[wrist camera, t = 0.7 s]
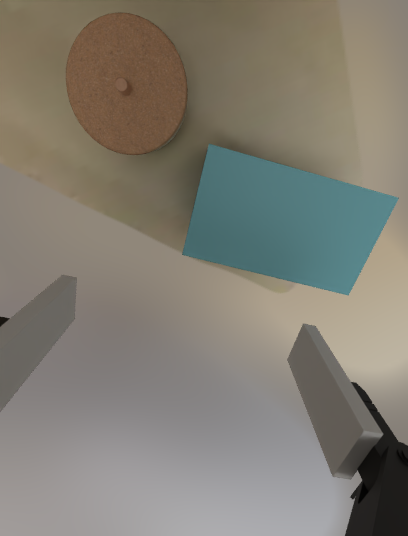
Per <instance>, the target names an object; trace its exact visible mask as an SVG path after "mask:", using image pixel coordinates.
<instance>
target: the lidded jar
mask: <svg viewBox="0 0 408 536" xmlns="http://www.w3.org/2000/svg"><path fill="white" fill-rule="evenodd" d="M66 85H67V92H68V96H69V100H70V104H71V106H72V109H73V111H74V113H75V115H76V117H77V119H78V121H79V123H80V124H81V125H82V127H83V128H84V129H85V131H86V132H87V133H88V134H89V135H90V136H91V137H92V138H93V139H94V140H96V141H97V142H98V143H99V144H101V145H102V146H104V147H106V148H108V149H110V150H112V151H115V152H118V153H122V154H127V155H139V154H146V153H149V152H152V151H156V150H158V149H160V148H162V147H163V146H165V145H166V144H167V143H169V142H170V141H171V140H172V138H173V137H174V136H175V135H176V133H177V132H178V131H179V129H180V127H181V125H182V123H183V120H184V117H185V113H186V107H187V80H186V75H185V71H184V67H183V64H182V61H181V59H180V56H179V54H178V52H177V50H176V49H175V47H174V45H173V43H172V42H171V41H170V40H169V38H168V37H167V36H166V34H164V33H163V32H162V31H161V30H160V29H159V28H158V27H157V26H156V25H154V24H153V23H151V22H150V21H148V20H146V19H144V18H142V17H140V16H137V15H133V14H129V13H112V14H107V15H104V16H101V17H99V18H97V19H95V20H94V21H92V22H90V23H89V24H88V25H87V26H86V27H85V28H84V29H83V30H82V31H81V32H80V34H79V35H78V36H77V38H76V39H75V41H74V43H73V45H72V47H71V50H70V53H69V56H68V61H67V67H66Z"/></svg>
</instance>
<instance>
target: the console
mask: <svg viewBox="0 0 408 536" xmlns="http://www.w3.org/2000/svg"><path fill="white" fill-rule="evenodd" d="M398 199H399V198H397V197H394V196H390V195H387V194H383V193H380V192H376V191H373V190H369V189H366V188H362V187H359V186H355V185H352V184H348V183H345V182H341V181H338V180H334V179H331V178H327V177H324V176H320V175H317V174H313V173H310V172H306V171H303V170H299V169H296V168H292V167H289V166H285V165H282V164H278V163H275V162H271V161H268V160H264V159H261V158H257V157H254V156H250V155H247V154H243V153H240V152H236V151H233V150H229V149H226V148H222V147H219V146H215V145H212V144H209V146H208V150H207V154H206V158H205V162H204V166H203V171H202V175H201V179H200V183H199V187H198V191H197V195H196V200H195V204H194V208H193V212H192V216H191V220H190V224H189V229H188V233H187V237H186V241H185V245H184V249H183V254H182V255H185V256H189V257H193V258H197V259H201V260H206V261H210V262H214V263H218V264H222V265H226V266H230V267H234V268H238V269H242V270H247V271H251V272H255V273H259V274H263V275H267V276H271V277H275V278H279V279H283V280H287V281H292V282H296V283H300V284H304V285H308V286H312V287H316V288H320V289H324V290H329V291H332V292H337V293H341V294H345V295H349V293H350V291H351V290H352V287H353V286H354V283H355V282H356V280H357V278H358V276H359V274H360V272H361V270H362V268H363V266H364V264H365V262H366V261H367V259H368V257H369V255H370V253H371V251H372V249H373V247H374V245H375V243H376V241H377V239H378V237H379V235H380V233H381V231H382V230H383V228H384V226H385V224H386V222H387V220H388V218H389V216H390V214H391V212H392V210H393V208H394V206H395V205H396V203H397V201H398Z"/></svg>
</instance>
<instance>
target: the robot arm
mask: <svg viewBox="0 0 408 536" xmlns="http://www.w3.org/2000/svg"><path fill="white" fill-rule="evenodd" d="M76 281H77V278H76V277H71V276H66V275H62V276H61V277H59V278H58V279H57V280H56V281H54V283H52V284H51V285H50V286H49V287H47V288H46V289H45V290H44V291H43V292H41V293H40V294H39V295H38V296H37V297H35V298H34V299H33V300H32V301H31V302H29V303H28V304H27V305H26V306H25V307H23V308H22V309H21V310H20V311H19V312H18V313H16V314H15V315H14V316H13V317H11V318H5V317H0V412H1V410H2V409H3V408H4V407H5V406H6V404H7V403H8V402H9V401H10V399H11V398H12V397H13V396H14V394H15V393H16V392H17V391H18V389H19V388H20V387H21V386H22V384H23V383H24V382H25V380H26V379H27V378H28V377H29V376H30V374H31V373H32V371H34V369H35V368H36V367H37V366H38V364H39V363H40V362H41V361H42V359H43V358H44V357H45V356H46V354H47V353H48V352H49V351H50V349H51V348H52V347H53V345H54V344H55V343H56V342H57V341H58V339H59V338H60V337H61V336H62V334H63V333H64V332H65V330H66V329H67V328H68V327H69V326H70V324H71V323H72V322H73V321H74V319H75V303H76ZM287 360H288V363H289V365H290V368H291V370H292V373H293V376H294V378H295V381H296V383H297V386H298V389H299V391H300V394H301V396H302V398H303V401H304V404H305V407H306V409H307V412H308V414H309V417H310V419H311V422H312V424H313V427H314V430H315V432H316V435H317V437H318V440H319V442H320V445H321V448H322V450H323V453H324V456H325V458H326V461H327V463H328V465H329V468H330V471H331V474H332V476H333V477H338V478H344V479H351V478H352V477H353V476H354V474H355V473H356V472H357V470H358V472H359V474H360V476H361V478H362V482H361V483H360V484H359V486H358V487H357V488H356V490H355V491H354V492H353V494H352V495H351V498H352V499H354V498H355V501H354V505H353V509H352V512H351V516H350V519H349V523H348V527H347V530H346V534H345V536H408V446H407V445H405V444H404V443H401V442H398V440H397V439H396V437H395V436H394V434H393V433H392V431H391V430H390V428H389V427H388V425H387V424H386V422H385V421H384V419H383V418H382V416H381V415H380V413H379V412H378V411H377V408H376V407H375V405H374V404H372V401H371V399H370V398H369V396H368V395H367V394H366V392H365V391H364V390H363V389H362V388H361V387H360V386H358V384H357V383H354V382H350V380H349V379H348V377H347V376H346V374H345V372H344V371H343V369H342V367H341V366H340V364H339V363H338V361H337V359H336V358H335V356H334V355H333V353H332V351H331V350H330V348H329V347H328V345H327V344H326V342H325V340H324V339H323V337H322V336H321V334H320V332H319V331H318V329H317V328H316V326H312V325H308V324H303V326H302V328H301V330H300V332H299V334H298V337H297V339H296V341H295V343H294V346H293V348H292V350H291V352H290V355H289V357H288V359H287ZM355 496H356V497H355Z"/></svg>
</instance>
